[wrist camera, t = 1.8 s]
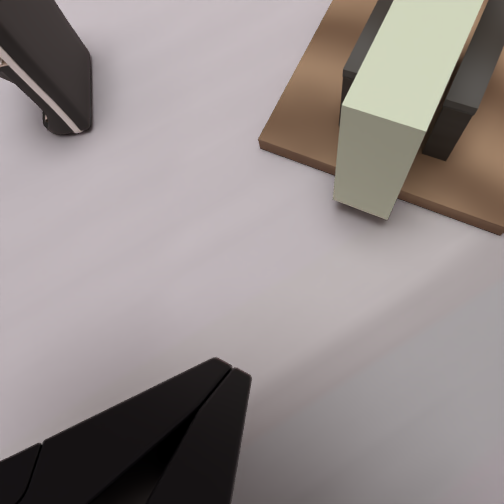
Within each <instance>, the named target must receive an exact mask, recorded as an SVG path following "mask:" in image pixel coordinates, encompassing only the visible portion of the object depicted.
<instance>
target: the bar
mask: <svg viewBox="0 0 504 504" xmlns="http://www.w3.org/2000/svg"><path fill="white" fill-rule="evenodd" d="M483 1H484V0H394V1H393V3H392V5H391V7H390V9H389V11H388V13H387V15H386V17H385V19H384V21H383V23H382V25H381V27H380V29H379V31H378V33H377V35H376V37H375V39H374V41H373V43H372V45H371V47H370V49H369V51H368V53H367V55H366V57H365V59H364V61H363V63H362V65H361V67H360V69H359V71H358V73H357V75H356V77H355V79H354V81H353V83H352V85H351V87H350V89H349V91H348V93H347V95H346V97H345V99H344V101H343V103H342V107H341V118H340V128H339V139H338V150H337V160H336V171H335V181H334V192H333V200H335V201H338V202H341V203H343V204H346V205H349V206H351V207H354V208H356V209H359V210H362V211H364V212H367V213H370V214H372V215H375V216H377V217H380V218H383V219H385V220H388V218H389V215H390V213H391V211H392V209H393V206H394V204H395V202H396V199H397V197H398V195H399V193H400V190H401V188H402V186H403V184H404V181H405V179H406V177H407V174H408V172H409V170H410V168H411V165H412V163H413V161H414V159H415V156H416V154H417V152H418V149H419V147H420V145H421V143H422V140H423V138H424V136H425V133H426V131H427V129H428V127H429V124H430V122H431V120H432V117H433V115H434V113H435V111H436V108H437V106H438V104H439V101H440V99H441V97H442V95H443V92H444V90H445V88H446V85H447V83H448V81H449V79H450V76H451V74H452V72H453V69H454V67H455V65H456V63H457V60H458V58H459V56H460V53H461V51H462V49H463V47H464V44H465V42H466V40H467V37H468V35H469V33H470V31H471V28H472V26H473V24H474V21H475V19H476V17H477V15H478V12H479V10H480V8H481V5H482V3H483Z"/></svg>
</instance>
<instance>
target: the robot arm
mask: <svg viewBox="0 0 504 504" xmlns="http://www.w3.org/2000/svg"><path fill="white" fill-rule="evenodd" d="M251 381H252V377H251V375H250V374H248V373H246V372H244V371H242V370H240V369H238V368H232V366H231V365H230V364H229V363H227V362H225V361H223V360H221V359H219V358H216V357H215V358H211V359H209V360H207V361H205V362H203V363H201V364H199V365H197V366H195V367H193V368H191V369H189V370H187V371H185V372H183V373H181V374H178V375H176V376H174V377H172V378H170V379H168V380H166V381H164V382H162V383H160V384H158V385H156V386H154V387H152V388H150V389H148V390H146V391H144V392H142V393H140V394H138V395H136V396H134V397H131V398H129V399H127V400H125V401H123V402H121V403H119V404H117V405H115V406H113V407H111V408H109V409H107V410H105V411H103V412H101V413H99V414H97V415H95V416H93V417H91V418H89V419H87V420H85V421H82V422H80V423H78V424H76V425H74V426H72V427H70V428H68V429H66V430H64V431H62V432H60V433H58V434H56V435H54V436H52V437H50V438H48V439H46V440H44V441H43V444H41V443H37V444H35V445H33V446H31V447H29V448H27V449H25V450H23V451H21V452H19V453H17V454H15V455H12V456H10V457H8V458H6V459H4V460H2V461H0V504H231V501H232V495H233V489H234V483H235V477H236V471H237V465H238V459H239V453H240V447H241V441H242V435H243V429H244V423H245V417H246V411H247V405H248V399H249V393H250V387H251Z"/></svg>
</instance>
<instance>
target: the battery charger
mask: <svg viewBox="0 0 504 504" xmlns="http://www.w3.org/2000/svg"><path fill="white" fill-rule="evenodd" d="M0 77H1V78H3V79H6V80H8V81H10V82H12V83H14V84H16V85H17V86H18V87H19V88H20V89H21V90H22V91H23V92H24V93H25V94H26V95H27V96H28V97H30V98H31V99H32V100H33V101H34V102H35V103H36V104H37V105H38V106H39V107H40V108H41V109H42V110H43V124H44V126H45V127H46V128H47V129H48V130H49V131H50V132H52V133H55V134H69V133H73V132H75V133H80V132H83V130H87V129H89V128H90V126H91V83H90V54H89V51H88V50H87V48H86V47H85V45H84V44H83V42H82V41H81V40H80V38H79V37H78V35H77V34H76V32H75V31H74V29H73V28H72V27H71V25H70V24H69V22H68V21H67V19H66V18H65V16H64V15H63V13H62V11H61V10H60V8H59V7H58V5H57V4H56V2H55V1H54V0H0Z"/></svg>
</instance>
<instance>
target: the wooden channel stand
mask: <svg viewBox="0 0 504 504" xmlns="http://www.w3.org/2000/svg"><path fill="white" fill-rule="evenodd" d="M393 1H394V0H333V1H332V3H331V4H330V6H329V8H328V10H327V12H326V14H325V16H324V17H323V19H322V21H321V23H320V25H319V27H318V29H317V30H316V32H315V34H314V36H313V38H312V40H311V42H310V43H309V45H308V47H307V49H306V51H305V53H304V55H303V56H302V58H301V60H300V62H299V64H298V66H297V68H296V70H295V71H294V73H293V75H292V77H291V79H290V81H289V83H288V84H287V86H286V88H285V90H284V92H283V94H282V96H281V97H280V99H279V101H278V103H277V105H276V107H275V109H274V110H273V112H272V114H271V116H270V118H269V120H268V122H267V123H266V125H265V127H264V129H263V131H262V133H261V135H260V136H259V138H258V141H259V145H260V148H261V149H264V150H267V151H269V152H272V153H275V154H278V155H280V156H283V157H286V158H289V159H291V160H294V161H297V162H300V163H302V164H305V165H308V166H311V167H313V168H316V169H319V170H322V171H324V172H327V173H330V174H333V175H335V171H336V160H337V150H338V139H339V128H340V118H341V107H342V103H343V101H344V99H345V97H346V95H347V93H348V91H349V89H350V87H351V85H352V83H353V81H354V79H355V77H356V75H357V73H358V71H359V69H360V67H361V65H362V63H363V61H364V59H365V57H366V55H367V53H368V51H369V49H370V47H371V45H372V43H373V41H374V39H375V37H376V35H377V33H378V31H379V29H380V27H381V25H382V23H383V21H384V19H385V17H386V15H387V13H388V11H389V9H390V7H391V5H392V3H393ZM397 198H399V199H401V200H404V201H407V202H410V203H412V204H415V205H418V206H421V207H423V208H426V209H429V210H432V211H434V212H437V213H440V214H443V215H445V216H448V217H451V218H453V219H456V220H459V221H462V222H464V223H467V224H470V225H473V226H475V227H478V228H481V229H484V230H486V231H489V232H492V233H495V234H497V235H501V234H503V233H504V0H484V1H483V3H482V5H481V8H480V10H479V12H478V15H477V17H476V19H475V21H474V24H473V26H472V28H471V31H470V33H469V35H468V37H467V40H466V42H465V44H464V47H463V49H462V51H461V53H460V56H459V58H458V60H457V63H456V65H455V67H454V69H453V72H452V74H451V76H450V79H449V81H448V83H447V85H446V88H445V90H444V92H443V95H442V97H441V99H440V101H439V104H438V106H437V108H436V111H435V113H434V115H433V117H432V120H431V122H430V124H429V127H428V129H427V131H426V133H425V136H424V138H423V140H422V143H421V145H420V147H419V149H418V152H417V154H416V156H415V159H414V161H413V163H412V165H411V168H410V170H409V172H408V174H407V177H406V179H405V181H404V184H403V186H402V188H401V190H400V193H399V195H398V197H397Z"/></svg>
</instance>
